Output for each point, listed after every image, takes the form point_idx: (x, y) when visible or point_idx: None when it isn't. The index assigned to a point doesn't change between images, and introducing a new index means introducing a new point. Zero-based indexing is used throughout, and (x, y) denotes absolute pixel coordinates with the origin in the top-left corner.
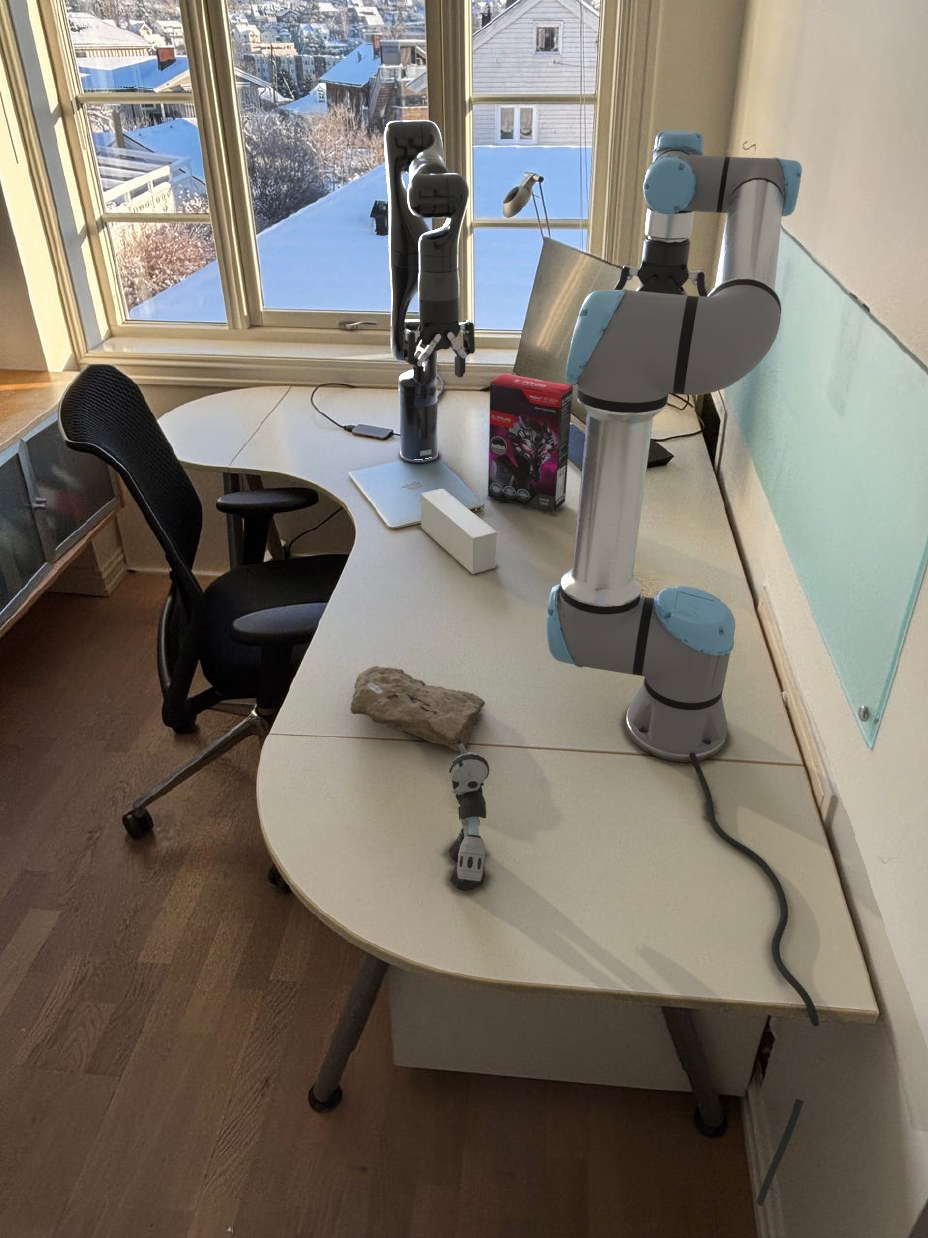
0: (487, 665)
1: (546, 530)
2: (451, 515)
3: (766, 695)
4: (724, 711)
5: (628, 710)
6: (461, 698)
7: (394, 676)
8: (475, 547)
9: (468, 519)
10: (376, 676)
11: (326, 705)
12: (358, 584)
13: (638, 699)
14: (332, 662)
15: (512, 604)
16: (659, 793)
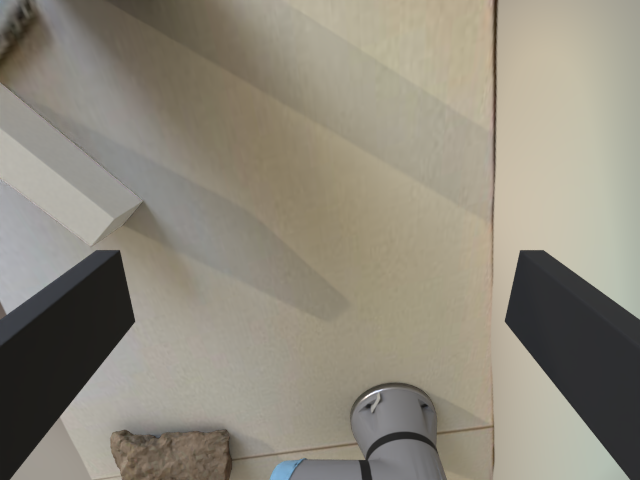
0: (211, 378)
1: (172, 59)
2: (20, 185)
3: (478, 357)
4: (436, 434)
5: (352, 427)
6: (209, 450)
7: (144, 463)
8: (102, 238)
9: (53, 191)
10: (130, 472)
11: (104, 449)
12: (4, 283)
13: (361, 450)
14: (72, 405)
15: (197, 277)
16: None
